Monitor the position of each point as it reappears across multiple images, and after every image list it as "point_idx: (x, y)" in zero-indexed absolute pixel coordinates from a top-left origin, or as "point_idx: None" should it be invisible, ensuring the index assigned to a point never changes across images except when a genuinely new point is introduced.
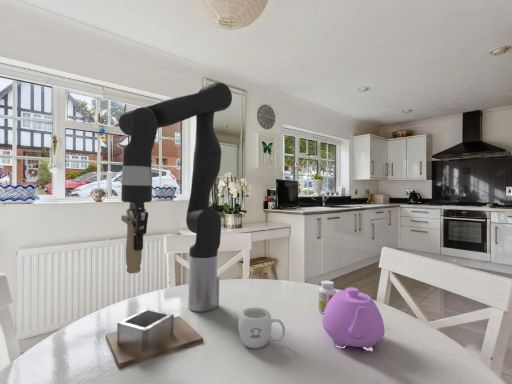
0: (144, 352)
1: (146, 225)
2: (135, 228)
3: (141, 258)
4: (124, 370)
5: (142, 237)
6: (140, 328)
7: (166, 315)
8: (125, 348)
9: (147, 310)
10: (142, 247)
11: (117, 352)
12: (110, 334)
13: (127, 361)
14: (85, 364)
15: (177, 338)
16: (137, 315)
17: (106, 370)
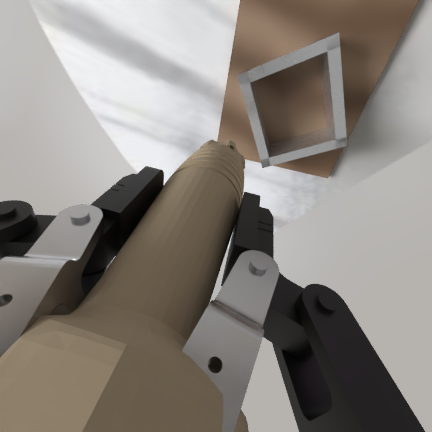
0: None
1: (401, 401)
2: (281, 372)
3: (229, 157)
4: (339, 172)
5: (254, 244)
6: (329, 148)
7: (320, 53)
8: None
9: (250, 83)
10: (259, 202)
11: (294, 166)
12: None
13: (333, 166)
14: (275, 198)
15: (359, 43)
16: (259, 119)
17: (315, 187)
